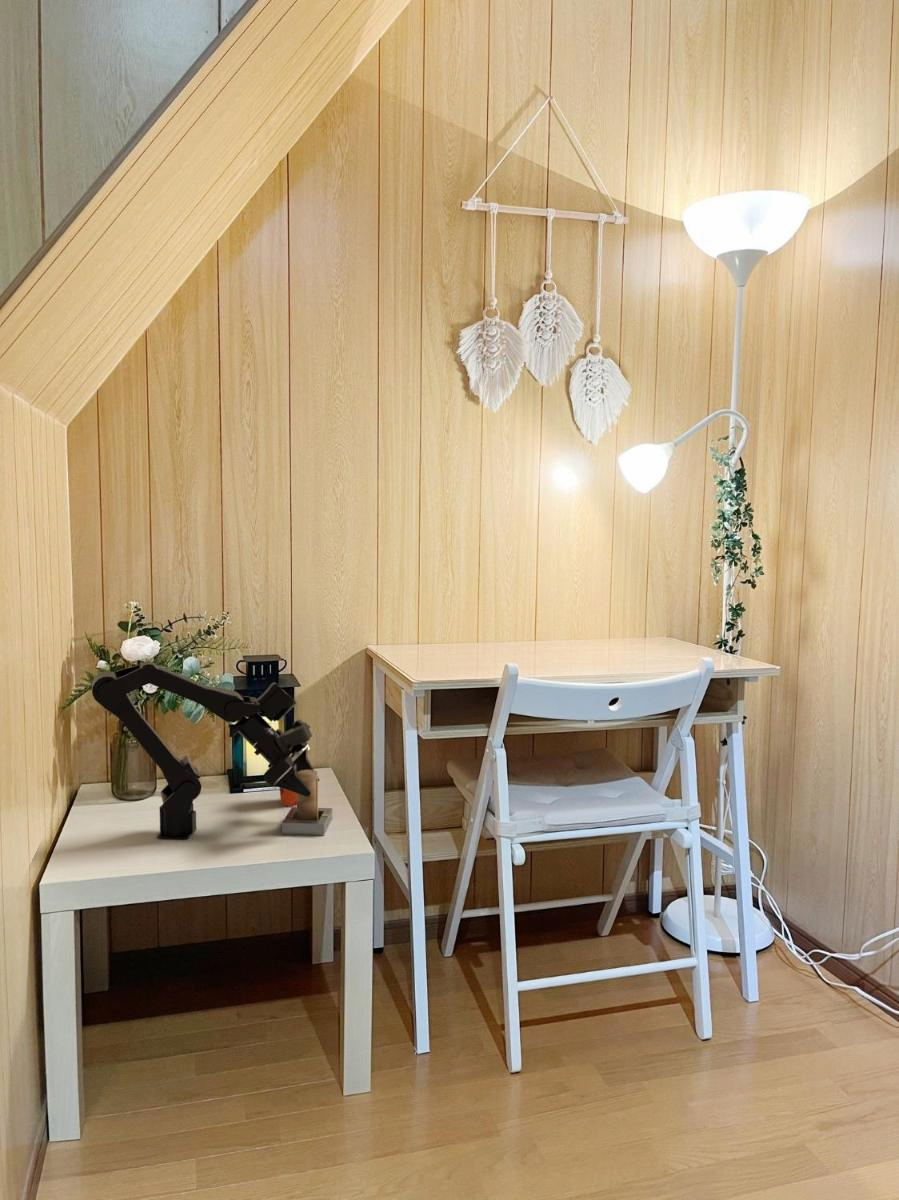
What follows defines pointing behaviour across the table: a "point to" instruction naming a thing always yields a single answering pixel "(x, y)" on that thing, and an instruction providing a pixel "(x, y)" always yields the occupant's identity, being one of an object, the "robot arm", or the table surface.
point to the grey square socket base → (307, 823)
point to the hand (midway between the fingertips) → (313, 788)
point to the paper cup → (289, 794)
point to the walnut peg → (308, 805)
